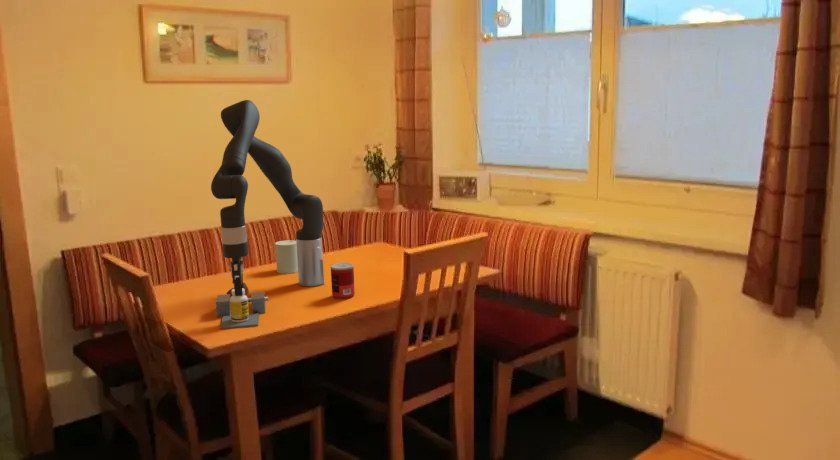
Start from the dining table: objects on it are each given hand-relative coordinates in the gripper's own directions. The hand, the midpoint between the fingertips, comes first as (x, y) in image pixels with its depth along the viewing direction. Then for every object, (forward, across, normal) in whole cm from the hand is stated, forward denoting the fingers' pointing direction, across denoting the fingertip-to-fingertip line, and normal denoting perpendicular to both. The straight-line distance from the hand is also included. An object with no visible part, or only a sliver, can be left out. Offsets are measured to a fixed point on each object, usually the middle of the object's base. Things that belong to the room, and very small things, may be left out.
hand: (239, 291), depth 217 cm
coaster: (+10, 0, +1) cm, 10 cm away
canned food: (+10, +19, -34) cm, 40 cm away
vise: (+10, +12, 0) cm, 16 cm away
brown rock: (+10, +26, +2) cm, 28 cm away
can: (+11, +61, -16) cm, 64 cm away
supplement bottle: (+9, 0, 0) cm, 9 cm away
